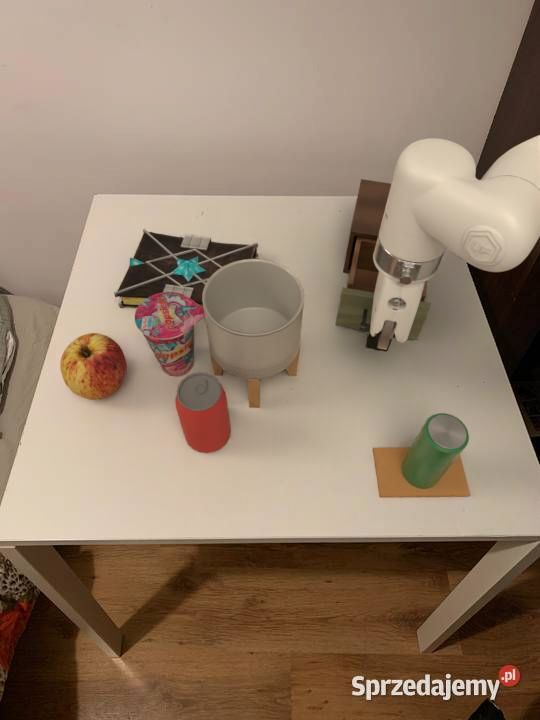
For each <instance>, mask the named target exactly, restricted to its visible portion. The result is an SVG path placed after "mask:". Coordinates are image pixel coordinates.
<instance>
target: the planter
mask: <svg viewBox="0 0 540 720" xmlns="http://www.w3.org/2000/svg"><path fill="white" fill-rule="evenodd" d="M202 301H203V308H204V314H205V317H204V320H205V327H206V333H207V341H208V346H209V352H210V353H209V354H210V360H211V366H212V372H213V376H222V375H223V370H224V371H225V372H227V373H229V374H230V375H232V376H235V377H238V378H241V379H247V393H248V408H252V409H255V408H256V409H257V408H258V409H259V408H260V403H261V402H260V400H261V399H260V395H261V393H260V391H261V390H260V389H261V387H260V386H261V385H260V384H261V382H260V381H261V380H260V379H266V378H271V377H273V376H275V375H278V374H280V373H281V372H283V371H284V370H287V372H288V376H289V377H293V376H294V377H297V376H298V367H299V358H300V348H301V345H300V344H301V335H302V327H303V326H302V324H303V316H304V315H303V314H304V305H305V291H304V288H303V284H302V282H301V281H300V279H299V278H298V277H297V275H296V274H295V273H294V272H293V271H291V270H290V269H289V268H288V267H286V266H285V265H282V264H280V263H278V262H276V261H272V260H269V259H261V258H256V259H245V260H240V261H235V262H232V263H230V264H227V265H225V266H223V267H222V268H220V269H218V270H217V271H216V272H215V273H213V275H212V276H211V277H210V278H209V279H208V281H207V282H206V284H205V287H204V289H203V294H202Z"/></svg>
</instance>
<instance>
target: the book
mask: <svg viewBox="0 0 540 720" xmlns="http://www.w3.org/2000/svg"><path fill="white" fill-rule="evenodd" d="M142 232H143V233H142V236H141V239H140V241H139V243H138V246H137V248H136V250H135V252H134V255H133V257H129V265H128V268H127V270H126V273H125V275H124V276H123V279H122V281H121V282H120V285H119V287H118V289H117V291H114V292H113V295H114V297H115V298H118V297H119V298H121V301H120V302H119V303H117V304H118V307H119V309H123V308H125V307H128V308H129V307H130V308H138V306H139V305H140V304H141V303H142V302H143V301H144V300H145V299H146V298H148V297H150V296H152V295H154V294H158V293H162V292H176V293H180V294H183V295H185V296H187V297H188V298H190V299H191V300H193V301H194V302H196V303H197V304H198V305H200V306H201V307H202V308H203V301H202V294H203V289H204V287H205V284H206V282H207V281H208V279H209V278H210V277H211V276H212V275H213V273H215V272H216V271H217V270H218V269H220V268H222V267H223V266H225V265H227V264H230V263H232V262H235V261H240V260H245V259H258V258H259V253H258V247H259V243H258V242H254V243H252V244H245V243H243V244H242V243H228V242H225V243H224V242H217V241H212V237H210V236H202V235H196V234H195V235H194V234H184V237H182V236H174V235H170V234H169V235H168V234H165V233H164V234H163V233H157V232H151V231H148V230H147V229H146V228H143V229H142ZM203 309H204V308H203Z"/></svg>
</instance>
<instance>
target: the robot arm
mask: <svg viewBox="0 0 540 720" xmlns="http://www.w3.org/2000/svg"><path fill="white" fill-rule="evenodd" d="M476 166H477V165H476V161H475V158H474V157H473V155H472V154H471V152H469V151H468V150H467V149H466V148H465V147H464V146H462V145H461V144H459V143H457V142H454V141H452V140H449V139H444V138H435V137H430V138H429V137H428V138H423V139H419V140H416V141H413V142H412V143H410V144H409V145H407V146H406V147H405V148H404V149H403V150H402V152H400V155H399V157H398V159H397V162H396V165H395V168H394V173H393V176H392V180H391V183H390V184H391V188H390V192H389V196H388V200H387V203H386V207H385V211H384V215H383V219H382V223H381V227H380V231H379V235H378V238H377V242H376V246H375V250H374V254H373V261H374V264H375V266H376V268H377V269H378V270H379V273H378V277H377V282H376V287H375V292H374V299H373V307H372V315H371V326H370V330H369V333H367V336H366V343H365V348H366V349H369V350H374V351H375V352H376V351H377V352H388V351H389V349H390V347H391V343H392V340H393V339H394V338H393V335H394V333H395V336H396V338H395V339H396V342H397V343H402V344H404V343H405V342H407V341H408V339H409V338H408V336H409V333H410V330H411V327H412V324H413V321H414V318H415V315H416V312H417V309H418V306H419V303H420V299H421V296H422V292H423V288H424V284H425V281H427V282H428V281H429V280H430V279H432V278H433V277H434V276H435V274H436V273H437V272H438V268H439V266H440V264H441V261H442V259H443V257H444V255H445V251H446V249H448V250H450V251H451V252H452V253H453V254H454V255H456V256H457V257H458V258H460V259H461V260H463V261H464V262H466V263H467V264H470V265H471V266H473V267H474V268H477V269H478V270H482V271H486V272H490V273H502V272H507V271H510V270H513V269H514V268H516V267H518V266H519V265H520V264H522V263H523V262H524V261H525V260H526V259H527V257H528V256H529V255H530V253H531V252H532V250H534V247H535V246H536V244H537V242H538V241H539V238H540V134H539V135H536V136H533V137H531V138H529V139H527V140H525V141H523V142H521V143H519V144H517V145H515V146H513V147H512V148H510V149H509V150H507V151H506V152H504V153H503V154H502V155H501V156H499V157H498V158H497V159H496V160H495V161H494V162H493V164H492V165H491V166H490V167H489V168H488V170H487V171H486V172H485V174H483V176H482V177H481V178H480V179H478V178H477V177H476V172H477V167H476Z"/></svg>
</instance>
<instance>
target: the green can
mask: <svg viewBox="0 0 540 720" xmlns="http://www.w3.org/2000/svg"><path fill="white" fill-rule="evenodd" d="M422 425H423V426H422V427H421V429H420V431H419V432H418V434H417V436H416V437H415V439H414V441H413V443H412V444H411V446H410V447H411V448H410V450H409V451H408V453H407V455H406V456H405V458H404V460H403V462H402V466H401V469H402V474H403V476H404V478H405V479H406V480H407V482H408V483H410V484H411V485H412V486H414V487H417V488H421V489H428V488H431V487H433V486H434V485H436V483H437V482H438V481H439V480H440V478H441V477H442V476H443V475H444V473H445V472H446V471H447V470H448V468H449V467H450V466H451V465H452V463H453V462H454V461H455V460H456V458H457V457H458V456H459V455H460V456H461V454H462V452H463V451H464V450H465V448H466V447H467V446H468V444H469V441H470V434H469V430H468V427H467V426H466V425H465V424H464V422H463V421H462V420H461V419H460V418H458V417H457V416H455V415H453V414H450V413H446V412H438V413H435V414H432V415H430V416H429V417H427V419H426V420H425V422H424V423H423V424H422Z"/></svg>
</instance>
